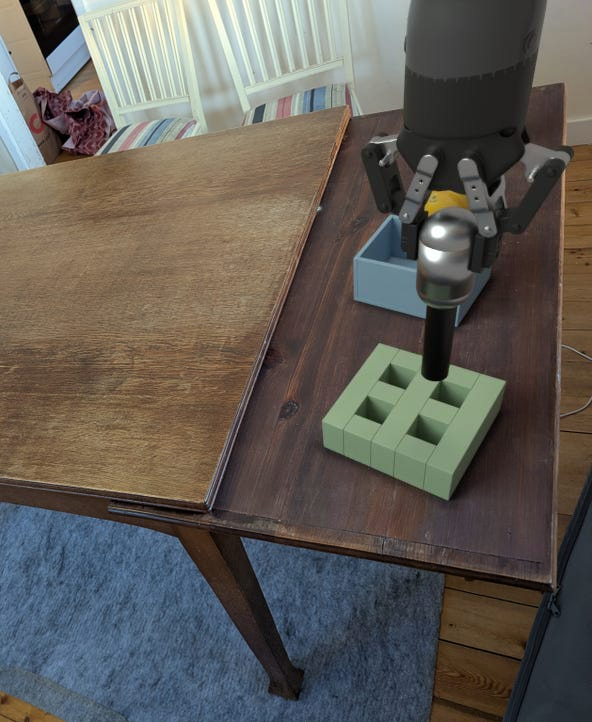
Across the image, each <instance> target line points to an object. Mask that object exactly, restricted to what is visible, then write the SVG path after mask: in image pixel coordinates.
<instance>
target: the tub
mask: <svg viewBox="0 0 592 722" xmlns="http://www.w3.org/2000/svg"><path fill="white" fill-rule="evenodd" d="M401 224H402V222H401V221H400V220H399V217H398V216H397V215H395V214H389V215H388V216H387V218H386V219H385V220H384V221H383V222H382V224H381V225H379V227H378V229H376V231H375V232H374V233H373V235H371V236H370V238H369V239H368V240H367V242H365V244H364V245H363V246H362V248H361V249H360V250H358V252H357V253H356V254H355V256H354V257H353V259H352V260H353V262H352V263H353V301H356V302H359V303H360V302H361V303H364V304H368V305H371V306H375V307H378V308H383V309H387V310H390V311H394V312H398V313H402V314H406V315H409V316H410V315H411V316H413V317H417V318H421V319H426V308H427V304H425V303H424V302H423V301H422V300H421V299H420V298H419V296H418V294H417V291H416V273H417V260H416V261H415V260H410V259H407V258H406V255H407V252H403V251H402V249H401V247H400V245H401ZM492 267H493V265H492V266H491V267H490V268H484V270H483V271H482V273H481V274H479V273H476V276H475V282H474V288H473V291H472V293H471V295H470V296H469V298H468V299H467V300H466V301H465V302H463V303H462V304H461V305H459V306H457V314H456V321H455V328H458V326H459V325H460V323H461V322H462V320H463V319H464V317H466V316H465V315H466V314H467V313H468V311H469V310H470V308H471V306H472V305H473V304H474V302H475V301H476V299H477V298H478V297H479V295H480V293H481V292H482V290H483V288H484V287H485V286H486V284H487V283H488V281H489V280H490V278H491V273H492Z"/></svg>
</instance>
